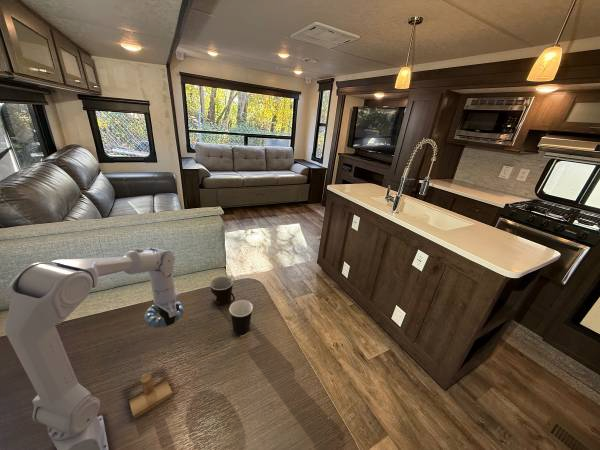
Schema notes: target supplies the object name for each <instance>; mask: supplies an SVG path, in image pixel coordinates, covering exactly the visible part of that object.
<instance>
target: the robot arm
mask: <svg viewBox="0 0 600 450" xmlns="http://www.w3.org/2000/svg"><path fill="white" fill-rule="evenodd" d="M175 262H176V255H174V253H172V251H170V250H167V249H163V248H157V247H151V246H149V247H147V248H146V249H144V248H140V247H136V248H134V250H130V251H127V252H126V253H124V254H123V255H122V256H109V257H108V256H107V257H89V258H63V259H55V260H51V263H49V262H46V261H39V262H35V263H31V264H29V265H27V266H25V267H24V268H23V269H22V270H20V271H19V272H18V274H17V275H16V276H15V277H14V279H12V281H11V282H10V283H9V285H8V286H7V290H8V293H9V295H10V302H9V308H8V312H7V317H6V320H5V326H4V333H5V335H6V337H7V339H8V341H9V343H10V345H11V346H12V349H13V350H14V352H15V354H16V356H17V358H18V359H19V362H20V363H21V365H22V368H23V369H24V372H25V373H26V375H27V377H28V379H29V381H30V383H31V384H32V387H33V389H34V390H35V392H36V394H37V395H36V396H35V397H34V398H33V399H32V401H31V402H32V405H33V412H32V416H31V417H32V421H33V422H34V423H37V424H42V425H45V426H46V427H47V434H48V436H49V438H50V439H51V441H52V443H53V445H54V447H55V448H56V450H109V449H110V448H109V443H108V438H107V432H106V426H105V421H104V416H103V415H99V416H98V414H99V411H100V407H101V400H100V399H99V397H95V396H93V395H92V393H91V391H89V390H88V389H87V388H86V387H84V386H83V385H82V384H80V383H79V381H78V379H77V376H76V374H75V371H74V369H73V367H72V364H71V361H70V359H69V357H68V354H67V351H66V349H65V347H64V344H63V342H62V339H61V337H60V334H59V332H58V329H57V327H56V326H59V325H60V324H62V323H63V322H64V321H65V320H66V319H68V317H69V316H70V315H71V314H72V313H73V312H74V311H75V310H76V309H77V308H78V307H79V306H80V305H81V304H82V303H83V302H84V301H85V300H86V298H88V296H89V295H90V293H91V291H92V289H96V288H97V286H98V282H99V277H104V276H108V275H112V274H117V273H122V272H123V273H125V274H127V275H137V274H143V273H148V274H149V280H150V285H151V291H152V296H153V299H152V303H153V304H154V305H155V306H156V307H157V308H158V309H159V310H157V311H158V313H157V314H158V315H159V316H160V317H163V318H164V321H165V323H166V325H167V326H166V327H169V326H171V325H174V324H175V323H176V322H175V317H176V315H177V311H178V310H179V305H178V303H177V304H176V301H177V298H178V297H180V292H179V291H178V290H175V282H174V275H173V272H174V270H175V268H174V265H175ZM52 263H54V264H52ZM174 322H175V323H174Z"/></svg>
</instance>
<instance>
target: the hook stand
mask: <svg viewBox="0 0 600 450" xmlns="http://www.w3.org/2000/svg"><path fill="white" fill-rule="evenodd" d="M140 384H141V389H142V391H141V392H139V393H137V394H136V395H135V394H134V396H132V397H130V398H128V402H129V406H130V410H131V414H132V417H133V419H134V420H135V419H136V418H138V417H140V416H141V415H143V414H144V413H146V412H148V411H149V410H151V409H152V408H154V407H156V406H157V405H159V404H161V403H163V402H164V401H165V400H167V399H169V398H170V397H172V396H173V391H172V387H171V386H170V384H169V382H168V379H167V377H165V378H164V379H162V380H160V381H158V382H156V383H155V384H154V382H153V378H152V374H151V373H145V374H142V376H141V377H140Z"/></svg>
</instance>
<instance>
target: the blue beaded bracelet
mask: <svg viewBox="0 0 600 450" xmlns="http://www.w3.org/2000/svg"><path fill="white" fill-rule="evenodd" d="M177 303H178V305H179V310H178V311H177V315H176V317H175V322H174V324H175V323H176V322H177V321H179V320H180V318H181V317H183V314H184V310H185V308H184V305H183V304H182V302H180V301H179V300H176V304H177ZM157 310H159V309H158V308H157V307H156V306H155V305H154V303H153V304H152V305H150V306H149V307H148V308H147V309H146V311H145V314H144V316H143V319H144V322H145V324H146V325H147V326H149V327H152V328H155V329H159V328H167V327H168V326H167V325H166V323H165V321H164V318H163V317H161V316H160V317H159V316H156V315H157V314H159V313H158V311H157Z"/></svg>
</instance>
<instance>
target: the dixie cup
mask: <svg viewBox="0 0 600 450" xmlns="http://www.w3.org/2000/svg"><path fill="white" fill-rule="evenodd" d="M253 310H254V305H253V303H252V302H251V301H249V300H245V299H240V300H235V301H233V302H231V303H230V306H229V308H228V311H229V314H230V319H231V323H232V329H233V330H232V331H233V333H234V334H236V335H238V336H239V338H243V337H245V336H247V335H248V334H249V331H250V326H251V319H252V313H253Z"/></svg>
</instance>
